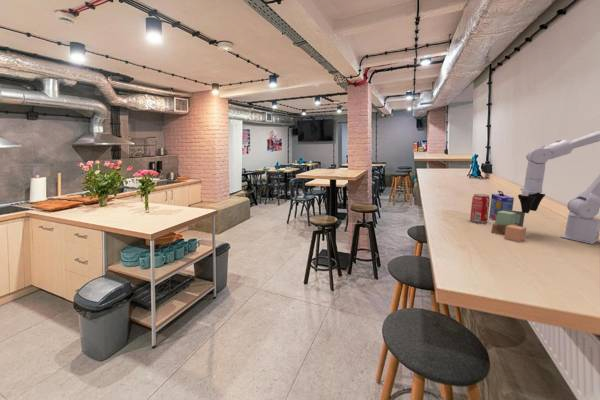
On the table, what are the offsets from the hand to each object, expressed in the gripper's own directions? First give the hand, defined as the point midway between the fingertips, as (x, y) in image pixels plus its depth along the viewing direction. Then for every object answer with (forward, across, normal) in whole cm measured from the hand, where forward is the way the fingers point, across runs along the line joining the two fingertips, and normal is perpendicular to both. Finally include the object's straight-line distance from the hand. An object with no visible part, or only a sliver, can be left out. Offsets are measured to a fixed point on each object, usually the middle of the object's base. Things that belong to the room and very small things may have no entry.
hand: (529, 211), depth 120 cm
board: (+9, -5, -7) cm, 13 cm away
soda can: (+9, -3, -20) cm, 23 cm away
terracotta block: (+9, +13, +1) cm, 16 cm away
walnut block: (+10, +7, -5) cm, 13 cm away
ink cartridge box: (+10, -15, -16) cm, 24 cm away
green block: (+6, +7, -5) cm, 10 cm away
